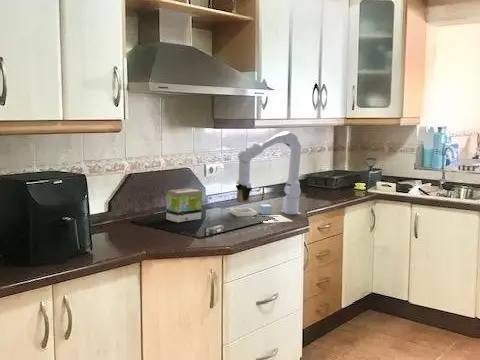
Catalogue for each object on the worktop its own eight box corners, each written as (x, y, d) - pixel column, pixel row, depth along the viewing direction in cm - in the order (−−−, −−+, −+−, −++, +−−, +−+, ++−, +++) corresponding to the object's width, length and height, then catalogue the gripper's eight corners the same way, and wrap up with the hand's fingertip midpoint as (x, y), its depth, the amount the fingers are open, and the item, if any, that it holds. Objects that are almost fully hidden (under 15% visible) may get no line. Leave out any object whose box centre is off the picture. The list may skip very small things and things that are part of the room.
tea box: (178, 223, 273) (179, 192, 271) (165, 219, 280) (166, 190, 278) (201, 219, 284) (202, 190, 282) (188, 215, 291) (189, 187, 289)
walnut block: (236, 201, 298) (237, 189, 297) (245, 200, 299) (246, 189, 299) (240, 202, 293) (240, 191, 292) (249, 202, 295) (249, 191, 294)
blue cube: (259, 214, 301) (259, 204, 301) (267, 213, 303) (267, 204, 302) (262, 215, 297) (263, 206, 296) (271, 215, 298) (271, 206, 298)
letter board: (251, 217, 292) (251, 216, 291) (279, 215, 297) (279, 214, 297) (264, 223, 277) (264, 222, 277) (293, 222, 283) (293, 221, 283)
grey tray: (229, 213, 300) (229, 208, 300) (248, 212, 304) (248, 207, 304) (237, 217, 290) (237, 212, 290) (256, 216, 294) (256, 211, 294)
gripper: (232, 172, 299) (231, 197, 301) (242, 175, 286) (241, 202, 288) (244, 171, 302) (243, 196, 304) (255, 175, 289) (254, 201, 291)
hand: (243, 199), depth 296 cm, fingers closed on walnut block, 5 cm apart
